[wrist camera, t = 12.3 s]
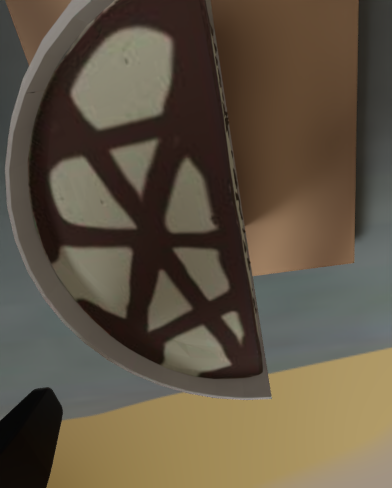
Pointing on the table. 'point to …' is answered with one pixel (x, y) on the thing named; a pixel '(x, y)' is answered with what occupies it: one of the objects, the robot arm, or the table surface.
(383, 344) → the table surface
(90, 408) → the table surface
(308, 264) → the walnut block
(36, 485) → the robot arm
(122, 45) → the food container
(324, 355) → the table surface
